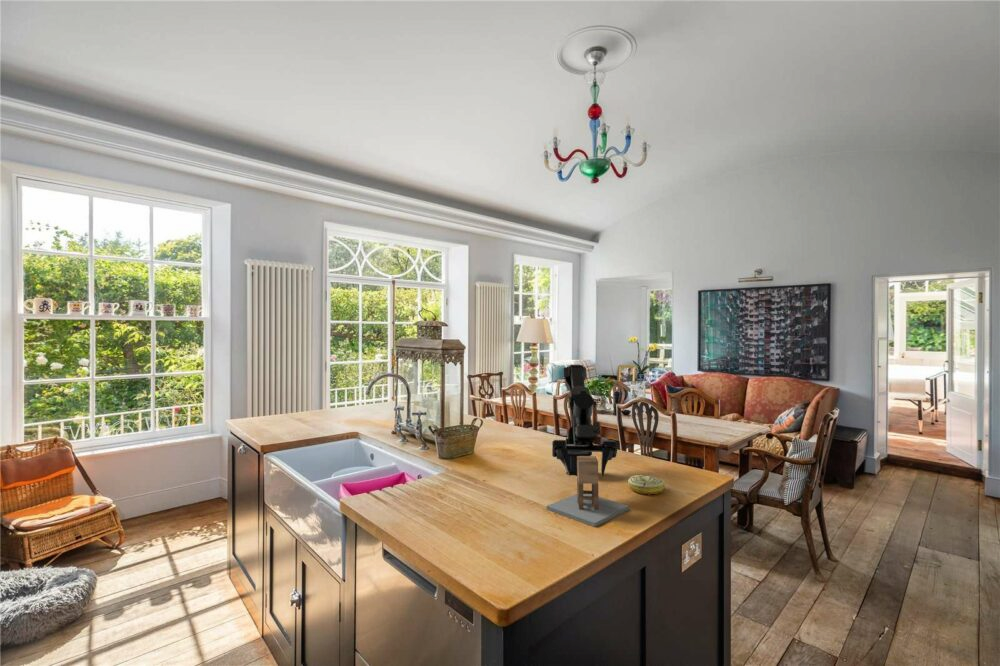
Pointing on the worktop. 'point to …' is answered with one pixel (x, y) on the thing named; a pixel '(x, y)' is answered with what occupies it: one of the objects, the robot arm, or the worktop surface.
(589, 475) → the stool
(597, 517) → the mat
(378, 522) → the worktop surface
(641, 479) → the decorated donut
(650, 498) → the worktop surface
